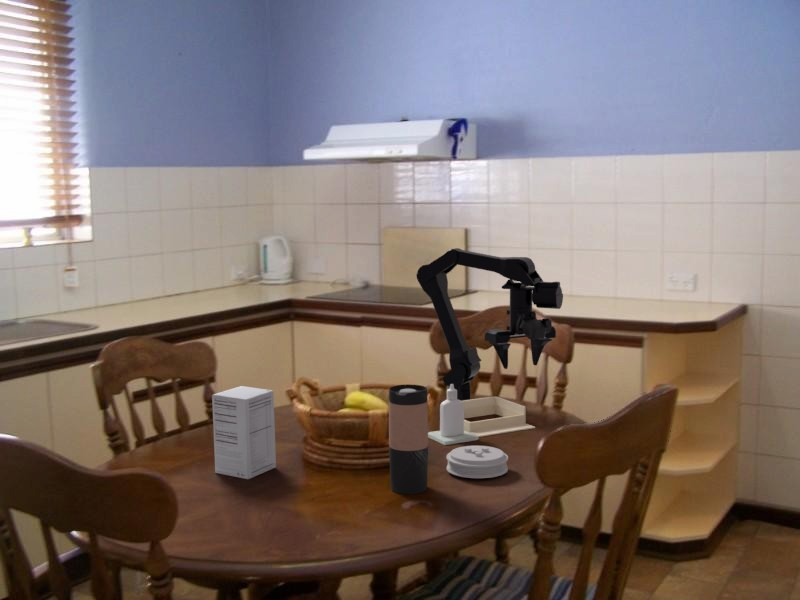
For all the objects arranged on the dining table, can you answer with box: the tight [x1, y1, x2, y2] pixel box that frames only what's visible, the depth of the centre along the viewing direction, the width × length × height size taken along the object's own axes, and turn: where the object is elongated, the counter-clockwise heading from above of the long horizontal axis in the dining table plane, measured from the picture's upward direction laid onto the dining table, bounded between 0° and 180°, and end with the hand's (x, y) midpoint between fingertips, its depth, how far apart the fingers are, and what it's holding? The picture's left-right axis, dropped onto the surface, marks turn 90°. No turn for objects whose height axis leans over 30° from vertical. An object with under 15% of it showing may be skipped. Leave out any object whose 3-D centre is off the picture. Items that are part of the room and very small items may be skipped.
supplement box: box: [211, 385, 277, 480], centre depth 198 cm, size 10×9×17 cm
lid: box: [446, 445, 509, 479], centre depth 196 cm, size 13×13×5 cm
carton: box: [462, 395, 536, 438], centre depth 234 cm, size 17×16×4 cm
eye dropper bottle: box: [439, 384, 465, 437], centre depth 222 cm, size 4×6×12 cm
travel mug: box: [388, 384, 429, 495], centre depth 185 cm, size 8×8×20 cm
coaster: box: [428, 430, 479, 446], centre depth 223 cm, size 9×9×1 cm
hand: (520, 366), depth 245 cm, fingers open, 9 cm apart
